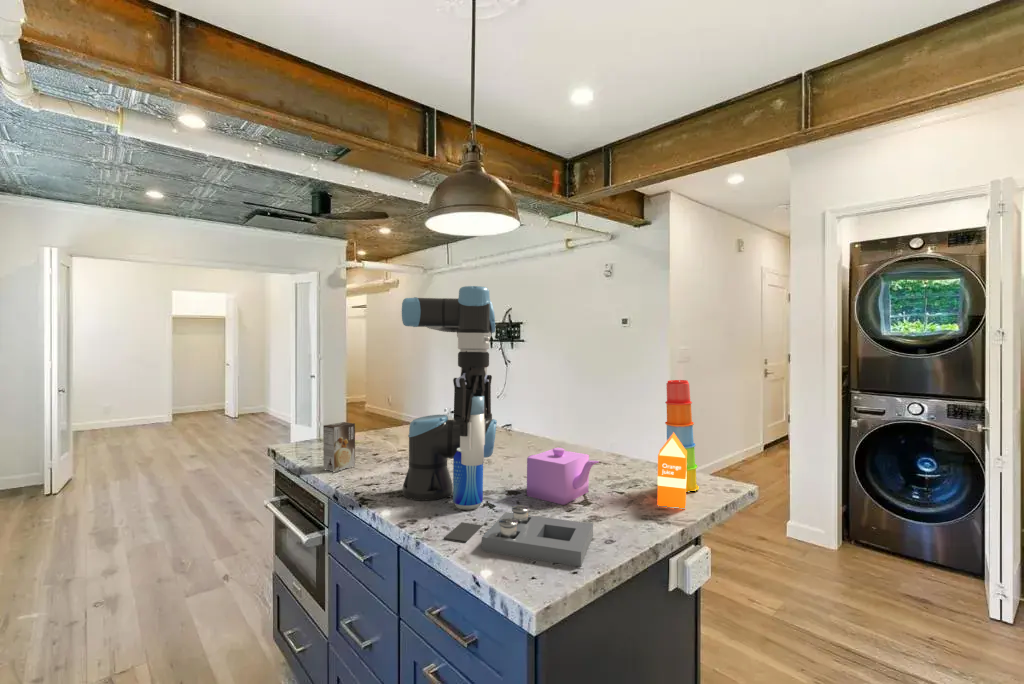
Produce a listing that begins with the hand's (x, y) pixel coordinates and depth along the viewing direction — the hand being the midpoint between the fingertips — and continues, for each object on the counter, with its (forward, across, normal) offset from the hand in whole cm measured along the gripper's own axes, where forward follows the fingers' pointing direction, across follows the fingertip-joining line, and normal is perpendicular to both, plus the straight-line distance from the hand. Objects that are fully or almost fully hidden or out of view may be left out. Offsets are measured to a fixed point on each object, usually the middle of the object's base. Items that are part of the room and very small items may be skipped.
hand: (472, 446), depth 114 cm
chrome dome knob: (+19, -3, -12) cm, 23 cm away
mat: (+21, 0, 0) cm, 21 cm away
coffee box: (+21, +25, +73) cm, 80 cm away
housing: (+21, +2, -17) cm, 27 cm away
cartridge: (+4, 0, 0) cm, 4 cm away
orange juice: (+21, +48, -38) cm, 65 cm away
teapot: (+21, +38, -7) cm, 44 cm away
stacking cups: (+21, +64, -38) cm, 77 cm away
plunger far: (+19, +6, -10) cm, 23 cm away
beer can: (+21, +16, +12) cm, 29 cm away
